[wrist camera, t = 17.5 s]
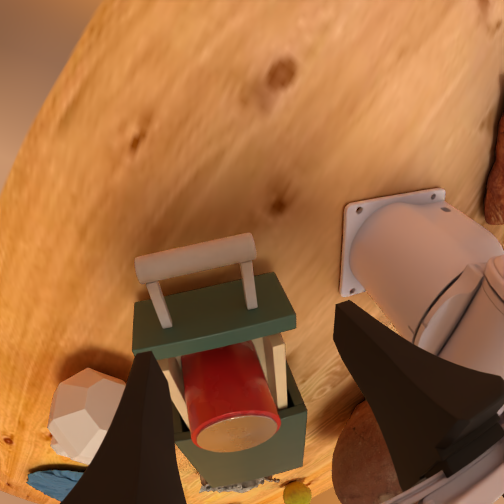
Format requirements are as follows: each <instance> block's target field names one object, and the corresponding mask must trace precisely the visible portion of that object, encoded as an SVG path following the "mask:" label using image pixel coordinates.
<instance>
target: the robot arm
mask: <svg viewBox="0 0 504 504" xmlns="http://www.w3.org/2000/svg"><path fill="white" fill-rule="evenodd" d="M445 195H446V192H445V190H444V189H443V188H434V189H428V190H422V191H416V192H410V193H404V194H398V195H392V196H386V197H381V198H375V199H369V200H364V201H358V202H352V203H349V204H348V205H346V207H345V209H344V227H343V246H342V263H341V276H340V289H339V293H340V295H341V296H342V297H348V296H351V295H355V294H358V293H361V292H365V291H367V292H368V294H369V295H370V296H371V297H372V299H373V300H374V301H375V302H376V304H377V305H378V306H379V308H380V309H381V310H382V311H383V313H384V314H385V315H386V317H387V318H388V319H389V320H390V322H391V323H392V324H393V326H394V327H395V328H396V329H397V331H398V332H399V333H400V335H401V336H402V337H401V336H400V335H398V334H397V333H395V332H394V331H392V330H391V329H389V328H388V327H386V326H385V325H383V324H382V323H380V322H379V321H378V320H376V319H375V318H374V317H372V316H371V315H369V314H368V313H367V312H365V311H364V310H363V309H361V308H360V307H359V306H357V305H356V304H355V303H353V302H352V301H350V300H348V301H345V302H341V303H338V304H336V308H335V321H334V333H333V340H334V342H335V345H336V347H337V349H338V352H339V354H340V356H341V358H342V360H343V362H344V364H345V365H346V367H347V369H348V370H349V372H350V374H351V375H352V377H353V379H354V380H355V382H356V384H357V385H358V387H359V388H360V390H361V392H362V393H363V395H364V397H365V398H366V400H367V402H368V404H369V406H370V407H371V409H372V412H373V414H374V416H375V418H376V421H377V423H378V425H379V427H380V430H381V432H382V435H383V437H384V440H385V442H386V445H387V448H388V450H389V453H390V456H391V459H392V462H393V465H394V468H395V471H396V474H397V478H398V481H399V485H400V487H401V489H402V491H403V493H401V494H399V495H397V496H395V497H393V498H391V499H389V500H387V501H385V502H383V503H381V504H414V503H416V502H418V501H419V500H420V501H419V502H418V503H417V504H493V503H494V502H495V501H496V500H497V499H498V498H500V496H502V495H503V494H504V250H503V248H502V246H501V244H500V243H499V241H498V240H497V238H496V237H495V236H494V235H493V234H492V233H491V232H489V231H488V230H487V229H485V228H484V227H482V226H481V225H480V224H478V223H477V222H475V221H474V220H472V219H471V218H469V217H468V216H467V215H465V214H464V213H462V212H461V211H459V210H458V209H456V208H455V207H453V206H452V205H450V204H448V203H447V202H445ZM358 207H360V209H359V210H358V211H356V209H357V208H358ZM351 289H352V290H351ZM60 504H187V503H186V500H185V496H184V492H183V488H182V484H181V480H180V475H179V471H178V466H177V460H176V453H175V441H174V427H173V412H172V402H171V396H170V390H169V384H168V381H167V379H166V377H165V375H164V373H163V371H162V370H161V368H160V366H159V364H158V362H157V360H156V358H155V356H154V354H153V352H152V351H147V352H142V353H137V354H136V355H135V358H134V361H133V364H132V368H131V371H130V374H129V377H128V380H127V383H126V386H125V389H124V392H123V394H122V397H121V400H120V403H119V405H118V408H117V410H116V413H115V415H114V417H113V420H112V422H111V425H110V427H109V429H108V431H107V433H106V435H105V437H104V439H103V441H102V443H101V445H100V447H99V449H98V451H97V452H96V454H95V456H94V458H93V459H92V461H91V463H90V464H89V466H88V467H87V469H86V470H85V472H84V473H83V475H82V476H81V478H80V479H79V480H78V482H77V483H76V485H75V486H74V487H73V489H72V490H71V491H70V492H69V493H68V495H67V496H66V497H65V498H64V499H63V501H62V502H61V503H60Z"/></svg>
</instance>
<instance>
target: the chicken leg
mask: <svg viewBox="0 0 504 504" xmlns="http://www.w3.org/2000/svg"><path fill="white" fill-rule="evenodd" d="M125 386H126V383H125V382H124V381H123V380H121V379H118V378H115V377H112V376H109V375H107V374H104V373H101V372H98V371H96V370H93V369H90V368H86V369H84V370H82V371H81V372H79V373H77V374H75V375H73V376H72V377H70V378H68V379H66V380H65V381H63V382H61V383H60V384H59V385H58V387H57V389H56V391H55V393H54V395H53V399H52V404H51V410H50V415H49V421H48V427H47V428H48V429H49V431H50V432H51V434H52V435H53V436H52V440H51V445H50V446H51V447H52V448H53V450H54V451H55V452H56V453H57V454H58V455H62V456H65V457H70V459H71V460H74V461H77V462H80V463H84V464H87V465H89V464H90V463H91V461H92V459H93V458H94V456H95V454H96V452H97V451H98V449H99V447H100V445H101V443H102V441H103V439H104V437H105V435H106V433H107V431H108V429H109V427H110V425H111V422H112V420H113V417H114V415H115V413H116V410H117V408H118V405H119V403H120V400H121V397H122V394H123V392H124V389H125Z"/></svg>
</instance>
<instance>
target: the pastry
mask: <svg viewBox="0 0 504 504" xmlns="http://www.w3.org/2000/svg"><path fill="white" fill-rule="evenodd" d="M495 155H496V158H495V163H494V165H493V167H492V169H491V171H490V173H489V176H488V181H487V188H486V190H485V196H484V205H485V211H484V215H485V221H486V223H488V224H491V225H499V224H504V111H503V113H502V118H501V120H500V121H499V126H498V137H497V144H496V153H495Z"/></svg>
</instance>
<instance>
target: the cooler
mask: <svg viewBox="0 0 504 504" xmlns="http://www.w3.org/2000/svg"><path fill="white" fill-rule="evenodd" d="M286 383H287V409H284V410H281V411H278V414H279V416H280V419H281V426H280V428H279V430H278V431H277V432H276V433H275V434H274V435H273V436H272V437H271V438H270V439H268V440H267V441H265V442H263V443H261V444H259V445H257V446H255V447H252V448H249V449H245V450H241V451H235V452H213V451H208V450H205V449H202V448H200V447H198V446H196V445H195V444H194V443H193V442H192V440H191V434H190V430H189V428H188V426H187V425H186V423H185V421H184V420H183V418H182V416H181V415H180V413H179V411H178V410H177V408H176V406H175V404H174V403H173V401H172V399H171V402H172V412H173V427H174V441H175V444H176V445H177V446H178V448H179V449H180V450H181V451H182V453H183V454H184V455H185V456H186V458H187V459H188V460H189V461H190V462H191V464H192V465H193V466H194V467H195V468H196V470H197V471H198V472H199V473H200V474H201V476H202V477H203V478H204V479H205V480H206V481H207V482H208V484H209V485H210V486H211V487H212V488H216V487H221V486H226V485H232V484H236V483H241V482H246V481H250V480H255V479H259V478H263V477H267V476H271V475H274V474H278V473H282V472H285V471H289V470H292V469H296V468H299V467H302V466H303V456H304V446H305V435H306V423H307V409H306V406H305V404H304V401H303V399H302V397H301V394H300V392H299V390H298V387H297V385H296V383H295V380H294V378H293V375H292V373H291V371H290V368H289V366H288V363H287V361H286Z"/></svg>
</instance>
